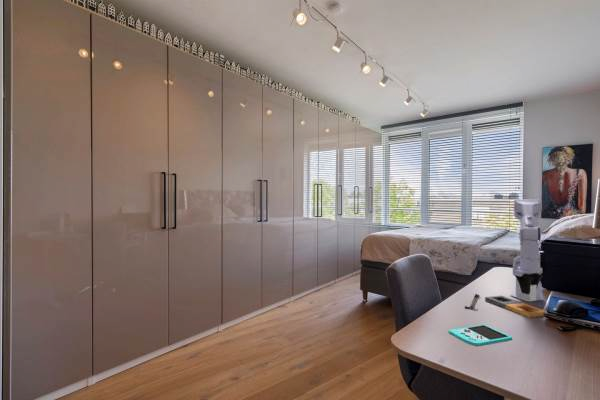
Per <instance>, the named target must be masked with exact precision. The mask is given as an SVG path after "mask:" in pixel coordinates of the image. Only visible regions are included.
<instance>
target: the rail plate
mask: <svg viewBox="0 0 600 400" xmlns="http://www.w3.org/2000/svg"><path fill="white" fill-rule="evenodd" d="M484 301H485V302H488V303H490V304H493V305H496V306H498V307H500V308H503V309H506V310H508V311H512V312H514V313H517V314H519V315H521V316H524V317H527V318H530V319H531V318H537V317H544V316H543V313H544V312H545V311H546V310H545V309H542V308H539V307H535V306H534V305H530V304H527V303H523V302H521V301H518V300H515V299H512V298H509V297H506V296H505V295H494V296H493V295H492V296H485V297H484Z"/></svg>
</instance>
